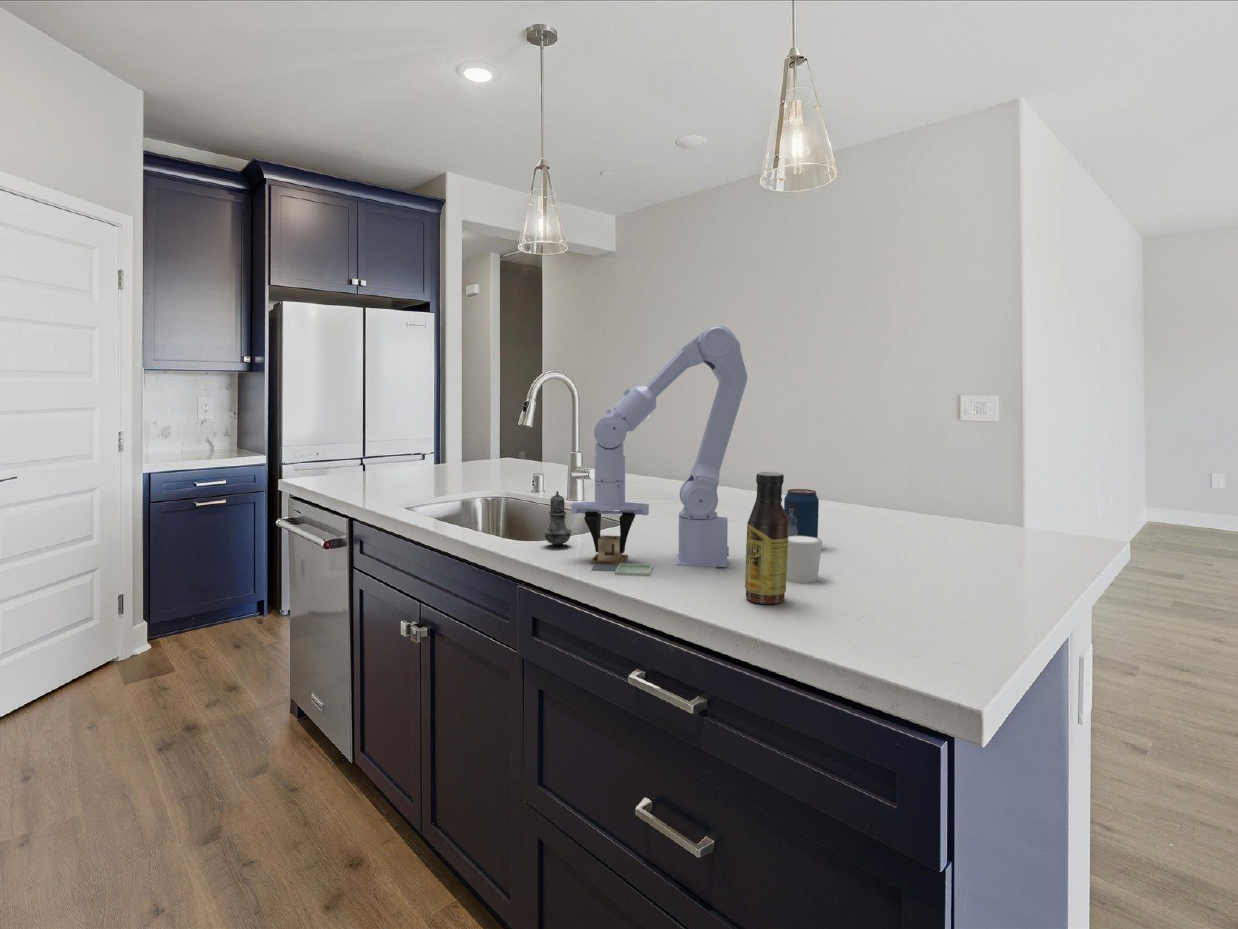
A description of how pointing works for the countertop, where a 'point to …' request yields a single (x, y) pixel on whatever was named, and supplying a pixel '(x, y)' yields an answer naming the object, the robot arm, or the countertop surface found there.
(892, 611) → the countertop surface
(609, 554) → the letter cube
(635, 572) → the stoneware dish
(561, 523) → the salt shaker
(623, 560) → the walnut dish
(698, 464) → the robot arm
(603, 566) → the slate mat
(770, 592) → the sauce bottle
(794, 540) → the white tapered cylinder
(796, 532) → the soda can
